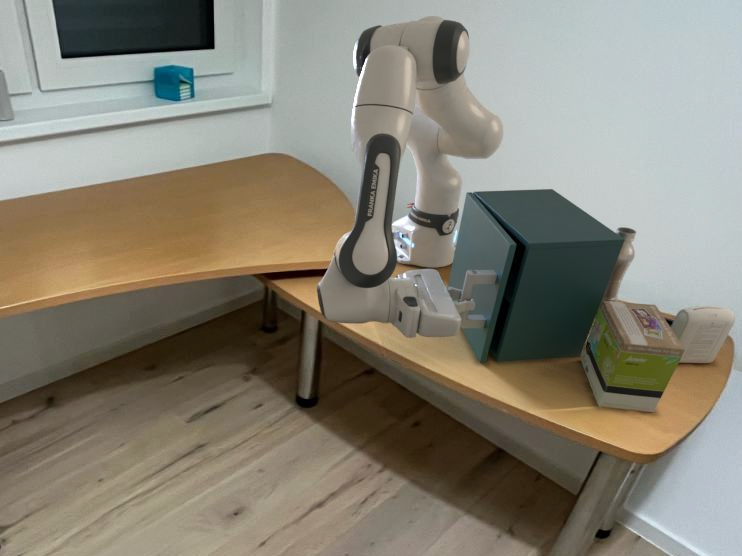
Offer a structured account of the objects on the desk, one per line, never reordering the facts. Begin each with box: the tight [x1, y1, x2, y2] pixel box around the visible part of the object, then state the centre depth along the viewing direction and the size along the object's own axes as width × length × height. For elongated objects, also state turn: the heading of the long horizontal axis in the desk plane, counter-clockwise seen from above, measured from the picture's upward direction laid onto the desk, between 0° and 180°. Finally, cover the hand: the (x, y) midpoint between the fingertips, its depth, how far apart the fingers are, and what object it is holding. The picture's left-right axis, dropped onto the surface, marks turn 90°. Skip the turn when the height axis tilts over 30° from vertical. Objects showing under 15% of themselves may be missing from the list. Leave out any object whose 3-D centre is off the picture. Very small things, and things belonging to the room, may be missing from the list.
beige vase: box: [597, 226, 637, 313], centre depth 127 cm, size 6×7×20 cm
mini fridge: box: [472, 188, 625, 363], centre depth 120 cm, size 18×26×26 cm
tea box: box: [580, 300, 685, 413], centre depth 105 cm, size 15×10×15 cm, turn 169°
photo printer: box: [671, 305, 736, 364], centre depth 114 cm, size 10×4×12 cm, turn 90°
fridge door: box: [447, 191, 517, 363], centre depth 118 cm, size 7×26×26 cm, turn 2°
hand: (471, 299), depth 110 cm, fingers closed on fridge door, 2 cm apart
